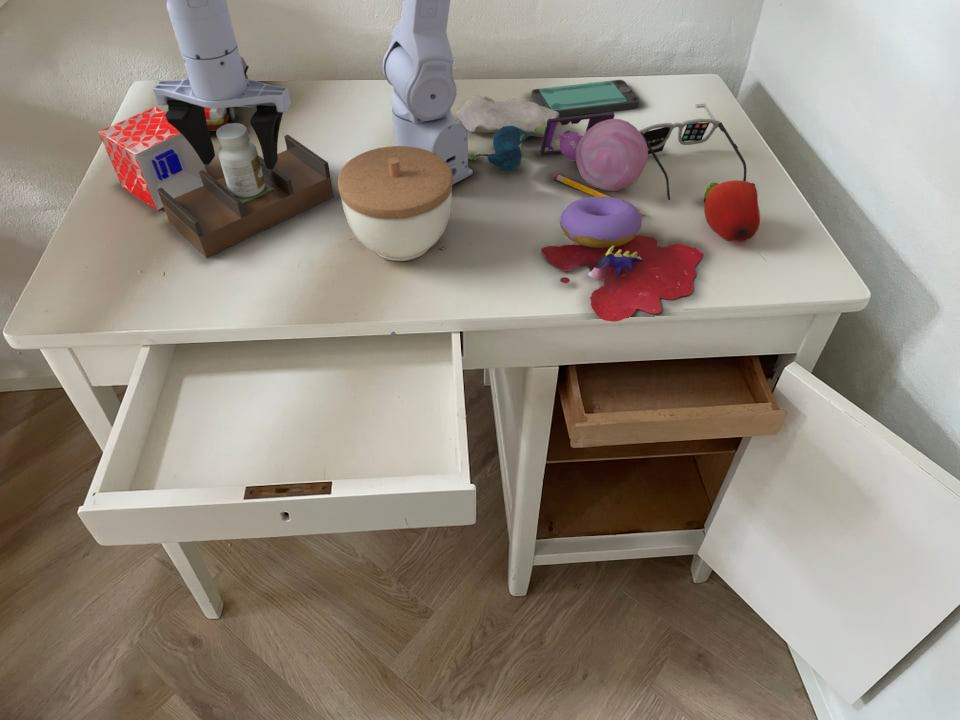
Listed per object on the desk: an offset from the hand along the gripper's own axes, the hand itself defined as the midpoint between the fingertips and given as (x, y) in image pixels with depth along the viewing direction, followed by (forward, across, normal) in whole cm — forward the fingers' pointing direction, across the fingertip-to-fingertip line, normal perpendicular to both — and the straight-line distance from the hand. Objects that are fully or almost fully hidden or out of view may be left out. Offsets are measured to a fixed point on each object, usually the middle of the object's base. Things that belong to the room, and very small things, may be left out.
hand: (240, 162), depth 84 cm
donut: (+6, -43, +2) cm, 44 cm away
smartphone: (+7, -41, -32) cm, 53 cm away
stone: (+6, -22, -25) cm, 34 cm away
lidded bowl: (+7, -19, +4) cm, 21 cm away
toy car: (+7, +14, -24) cm, 29 cm away
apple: (+4, -59, +2) cm, 59 cm away
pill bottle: (+4, 0, 0) cm, 4 cm away
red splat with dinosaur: (+8, -46, +7) cm, 48 cm away
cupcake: (+4, -46, -16) cm, 48 cm away
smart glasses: (+7, -54, -16) cm, 57 cm away
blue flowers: (+5, -30, -18) cm, 36 cm away
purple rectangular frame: (+7, -40, -16) cm, 44 cm away
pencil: (+7, -43, -8) cm, 44 cm away
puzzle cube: (+7, +13, -4) cm, 15 cm away
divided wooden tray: (+7, 0, 0) cm, 7 cm away
